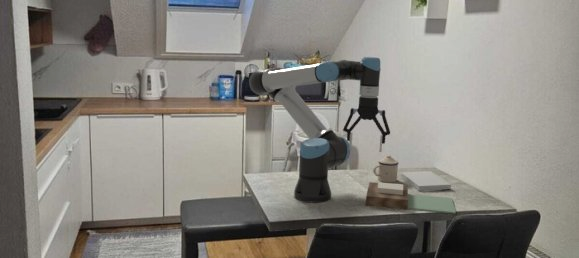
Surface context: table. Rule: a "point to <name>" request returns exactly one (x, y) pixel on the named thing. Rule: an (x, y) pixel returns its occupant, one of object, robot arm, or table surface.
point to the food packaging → (425, 181)
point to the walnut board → (386, 198)
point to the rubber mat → (431, 203)
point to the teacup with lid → (387, 170)
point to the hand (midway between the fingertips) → (365, 150)
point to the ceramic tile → (390, 188)
